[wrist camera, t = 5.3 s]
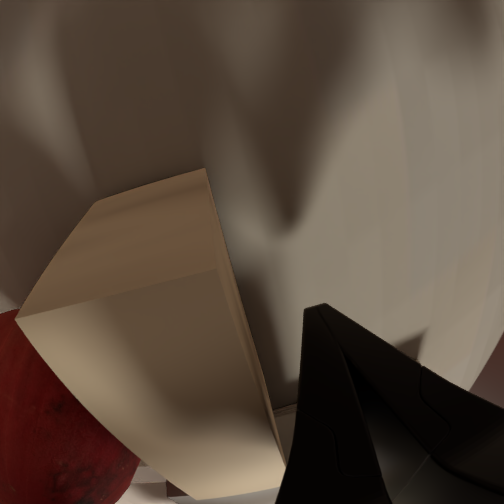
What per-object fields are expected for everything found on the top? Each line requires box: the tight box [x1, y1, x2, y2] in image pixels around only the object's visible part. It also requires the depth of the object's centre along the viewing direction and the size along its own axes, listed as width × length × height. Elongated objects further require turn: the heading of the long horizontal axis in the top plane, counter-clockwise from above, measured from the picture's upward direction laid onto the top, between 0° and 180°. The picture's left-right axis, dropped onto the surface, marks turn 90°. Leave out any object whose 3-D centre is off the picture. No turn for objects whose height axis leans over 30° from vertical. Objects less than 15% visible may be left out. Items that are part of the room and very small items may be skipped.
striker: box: [15, 168, 296, 504], centre depth 9 cm, size 14×5×5 cm, turn 11°
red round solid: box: [0, 309, 141, 504], centre depth 6 cm, size 6×6×8 cm
